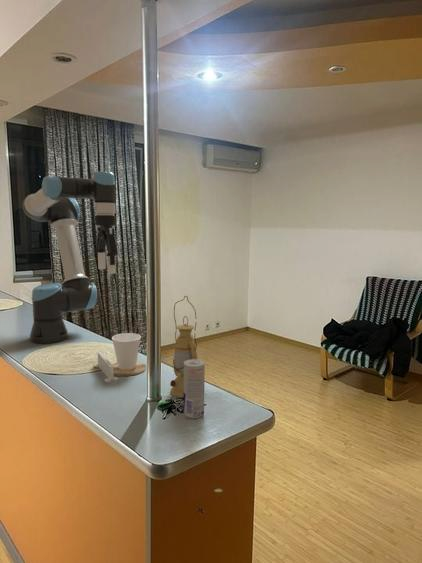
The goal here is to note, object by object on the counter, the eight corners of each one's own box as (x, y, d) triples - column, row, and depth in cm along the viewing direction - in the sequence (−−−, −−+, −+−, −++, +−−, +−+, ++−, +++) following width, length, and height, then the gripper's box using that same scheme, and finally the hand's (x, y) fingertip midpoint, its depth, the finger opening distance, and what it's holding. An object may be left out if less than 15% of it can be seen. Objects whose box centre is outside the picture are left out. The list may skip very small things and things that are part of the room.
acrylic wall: (93, 366, 145) (93, 352, 144) (104, 364, 147) (104, 350, 146) (106, 382, 131) (105, 367, 130) (118, 380, 133) (117, 365, 132)
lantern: (160, 389, 126) (159, 294, 121) (185, 381, 133) (186, 290, 128) (182, 403, 117) (183, 301, 112) (209, 394, 123) (210, 297, 118)
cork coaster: (103, 366, 145) (103, 364, 145) (138, 360, 151) (138, 358, 151) (114, 379, 134) (114, 377, 134) (151, 371, 140) (151, 370, 140)
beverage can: (208, 414, 111) (209, 362, 109) (194, 422, 107) (194, 367, 105) (193, 407, 115) (194, 356, 112) (179, 414, 111) (179, 362, 108)
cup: (135, 374, 137) (134, 342, 135) (107, 371, 139) (106, 340, 137) (145, 363, 146) (145, 334, 144) (119, 361, 148) (119, 332, 146)
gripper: (87, 214, 160) (88, 267, 164) (104, 215, 139) (105, 276, 142) (106, 214, 164) (107, 266, 168) (125, 215, 143) (126, 275, 146)
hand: (106, 271), depth 155 cm, fingers open, 13 cm apart
